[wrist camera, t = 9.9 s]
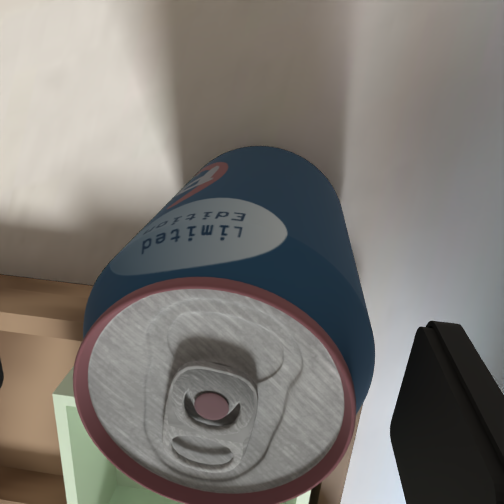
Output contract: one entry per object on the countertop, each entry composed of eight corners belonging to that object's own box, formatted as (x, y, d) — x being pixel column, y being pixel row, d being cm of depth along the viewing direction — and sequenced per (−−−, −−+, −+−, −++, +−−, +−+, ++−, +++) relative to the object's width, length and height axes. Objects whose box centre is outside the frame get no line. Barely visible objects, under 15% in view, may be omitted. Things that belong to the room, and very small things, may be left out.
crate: (318, 358, 20) (321, 432, 16) (292, 510, 25) (290, 599, 21) (101, 330, 21) (52, 393, 17) (112, 482, 25) (75, 563, 21)
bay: (372, 320, 21) (409, 461, 14) (330, 510, 26) (341, 686, 19) (-89, 263, 23) (-283, 361, 15) (-40, 453, 28) (-165, 593, 21)
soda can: (199, 123, 18) (43, 210, 7) (361, 161, 18) (448, 307, 7) (177, 268, 21) (40, 488, 10) (317, 302, 21) (331, 561, 10)
